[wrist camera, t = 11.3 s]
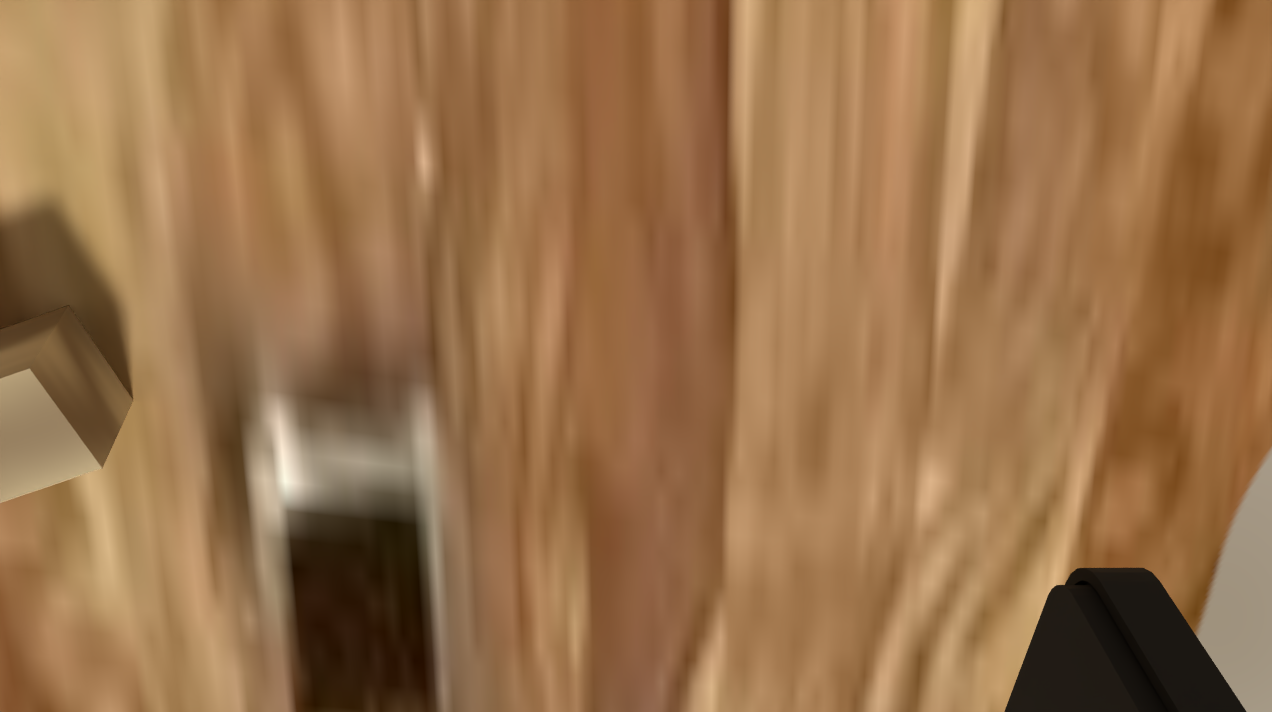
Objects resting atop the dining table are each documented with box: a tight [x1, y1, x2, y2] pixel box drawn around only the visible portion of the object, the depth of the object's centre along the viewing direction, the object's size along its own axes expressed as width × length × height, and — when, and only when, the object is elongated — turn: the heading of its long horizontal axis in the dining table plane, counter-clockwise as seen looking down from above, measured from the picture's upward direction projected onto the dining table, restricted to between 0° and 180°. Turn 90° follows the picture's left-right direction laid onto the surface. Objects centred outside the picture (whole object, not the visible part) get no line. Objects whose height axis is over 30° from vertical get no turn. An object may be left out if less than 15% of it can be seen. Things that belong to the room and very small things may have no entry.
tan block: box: [0, 305, 133, 503], centre depth 38 cm, size 4×4×4 cm
